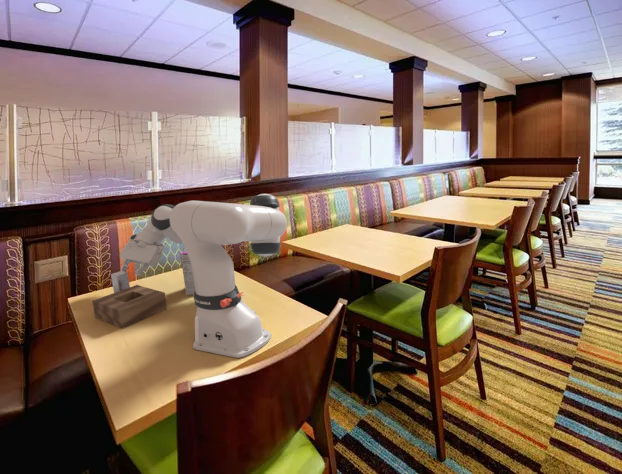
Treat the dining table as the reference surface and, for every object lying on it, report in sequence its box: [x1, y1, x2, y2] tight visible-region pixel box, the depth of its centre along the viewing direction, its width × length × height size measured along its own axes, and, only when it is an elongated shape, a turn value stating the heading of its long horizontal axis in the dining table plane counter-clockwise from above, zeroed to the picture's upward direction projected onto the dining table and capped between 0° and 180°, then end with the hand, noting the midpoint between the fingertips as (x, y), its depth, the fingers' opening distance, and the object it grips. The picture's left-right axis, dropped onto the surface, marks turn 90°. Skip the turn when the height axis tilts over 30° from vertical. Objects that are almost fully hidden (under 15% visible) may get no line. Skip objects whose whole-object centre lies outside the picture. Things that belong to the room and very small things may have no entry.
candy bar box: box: [180, 250, 195, 296], centre depth 140 cm, size 11×5×16 cm, turn 179°
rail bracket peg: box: [110, 270, 131, 293], centre depth 135 cm, size 4×4×10 cm
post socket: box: [91, 284, 168, 329], centre depth 123 cm, size 16×16×6 cm
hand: (129, 272), depth 138 cm, fingers open, 8 cm apart
